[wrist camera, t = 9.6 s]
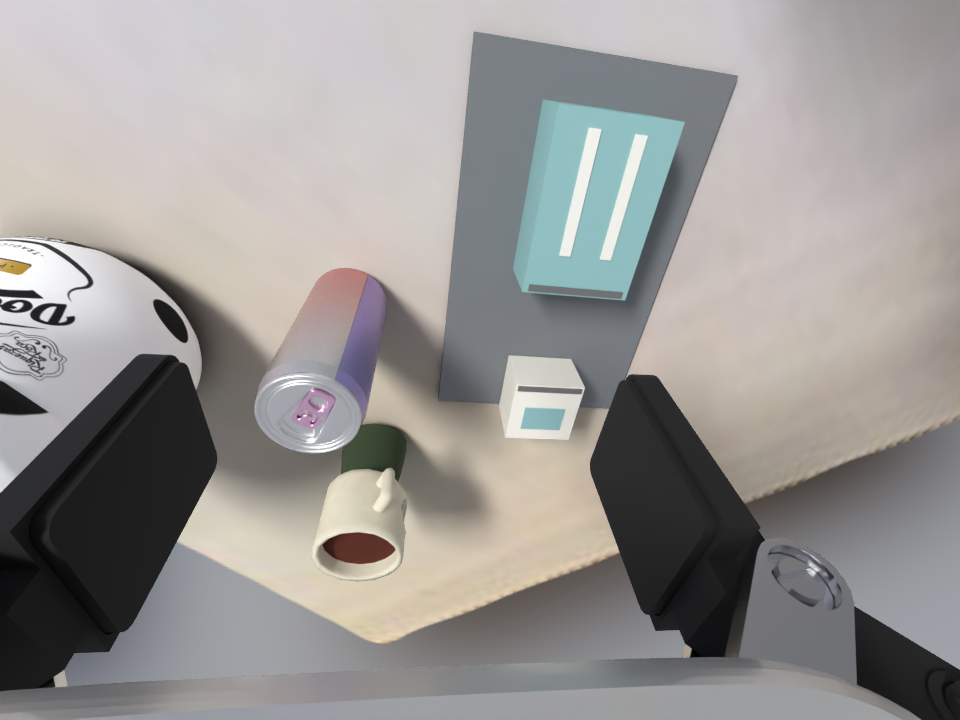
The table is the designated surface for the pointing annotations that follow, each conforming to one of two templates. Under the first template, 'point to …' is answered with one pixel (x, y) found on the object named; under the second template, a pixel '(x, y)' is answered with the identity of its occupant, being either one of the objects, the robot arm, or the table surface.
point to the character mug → (364, 509)
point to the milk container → (72, 337)
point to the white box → (540, 397)
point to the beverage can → (324, 365)
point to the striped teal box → (591, 198)
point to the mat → (500, 202)
